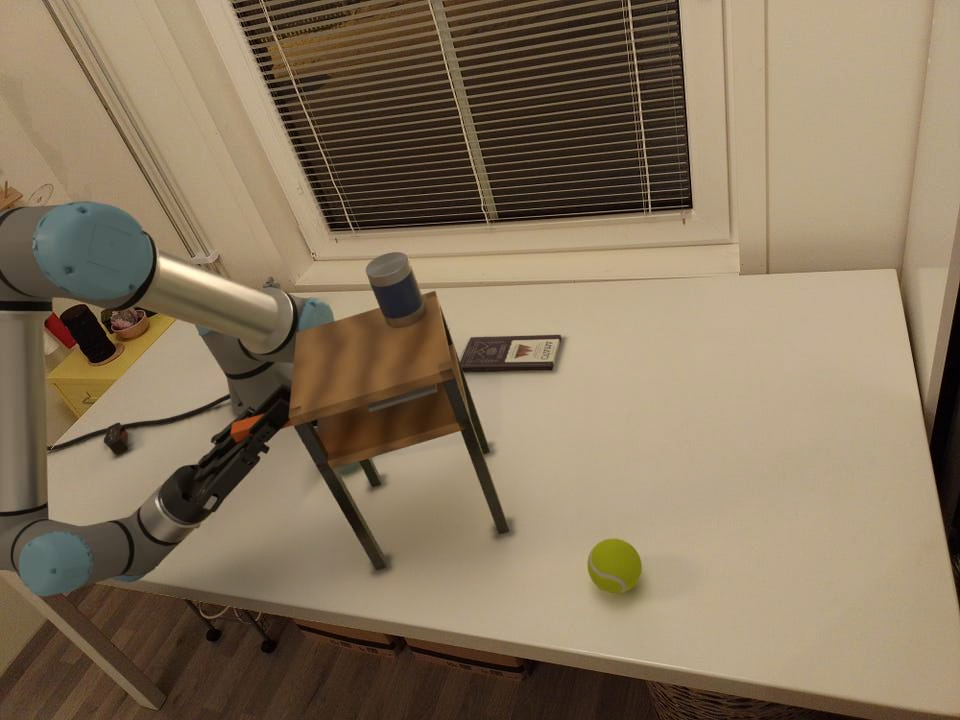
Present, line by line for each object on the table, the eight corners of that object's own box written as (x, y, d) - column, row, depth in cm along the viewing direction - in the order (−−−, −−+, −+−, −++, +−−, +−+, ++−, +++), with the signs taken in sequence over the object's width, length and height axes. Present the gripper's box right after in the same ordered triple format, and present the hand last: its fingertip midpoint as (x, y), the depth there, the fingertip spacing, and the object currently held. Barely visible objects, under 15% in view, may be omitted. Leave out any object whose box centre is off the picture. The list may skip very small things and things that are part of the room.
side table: (376, 570, 101) (288, 417, 82) (371, 480, 115) (296, 332, 97) (509, 531, 101) (451, 368, 82) (488, 445, 115) (435, 290, 96)
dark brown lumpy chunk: (128, 430, 144) (119, 419, 142) (129, 450, 138) (120, 439, 136) (106, 441, 143) (97, 429, 141) (106, 461, 137) (96, 450, 135)
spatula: (234, 452, 89) (228, 444, 88) (239, 421, 94) (234, 413, 93) (437, 392, 89) (434, 382, 88) (432, 364, 93) (429, 355, 92)
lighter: (287, 327, 160) (269, 291, 154) (273, 330, 160) (254, 294, 154) (295, 307, 166) (277, 272, 160) (281, 310, 167) (263, 275, 161)
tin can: (386, 332, 91) (365, 281, 86) (384, 309, 96) (364, 259, 91) (428, 320, 91) (410, 268, 86) (424, 297, 95) (406, 246, 91)
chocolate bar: (470, 337, 138) (560, 334, 131) (471, 341, 138) (561, 338, 132) (457, 367, 131) (551, 366, 125) (459, 371, 132) (552, 370, 125)
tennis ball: (586, 599, 89) (577, 568, 85) (597, 555, 94) (590, 524, 90) (639, 609, 87) (633, 577, 83) (648, 563, 91) (643, 531, 87)
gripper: (215, 474, 105) (316, 376, 97) (199, 557, 93) (312, 452, 85) (169, 451, 101) (270, 347, 93) (145, 534, 89) (259, 423, 81)
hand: (290, 397), depth 89 cm, fingers closed on spatula, 2 cm apart
